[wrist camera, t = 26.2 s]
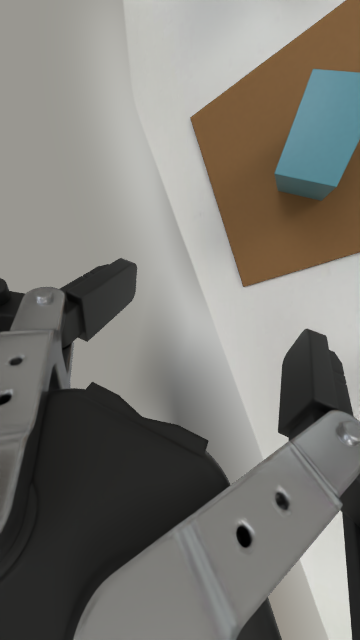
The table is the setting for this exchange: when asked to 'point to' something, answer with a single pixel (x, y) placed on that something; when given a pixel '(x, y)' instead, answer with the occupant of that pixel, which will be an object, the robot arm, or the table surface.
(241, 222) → the mat
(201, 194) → the table surface
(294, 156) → the teal rectangular block
